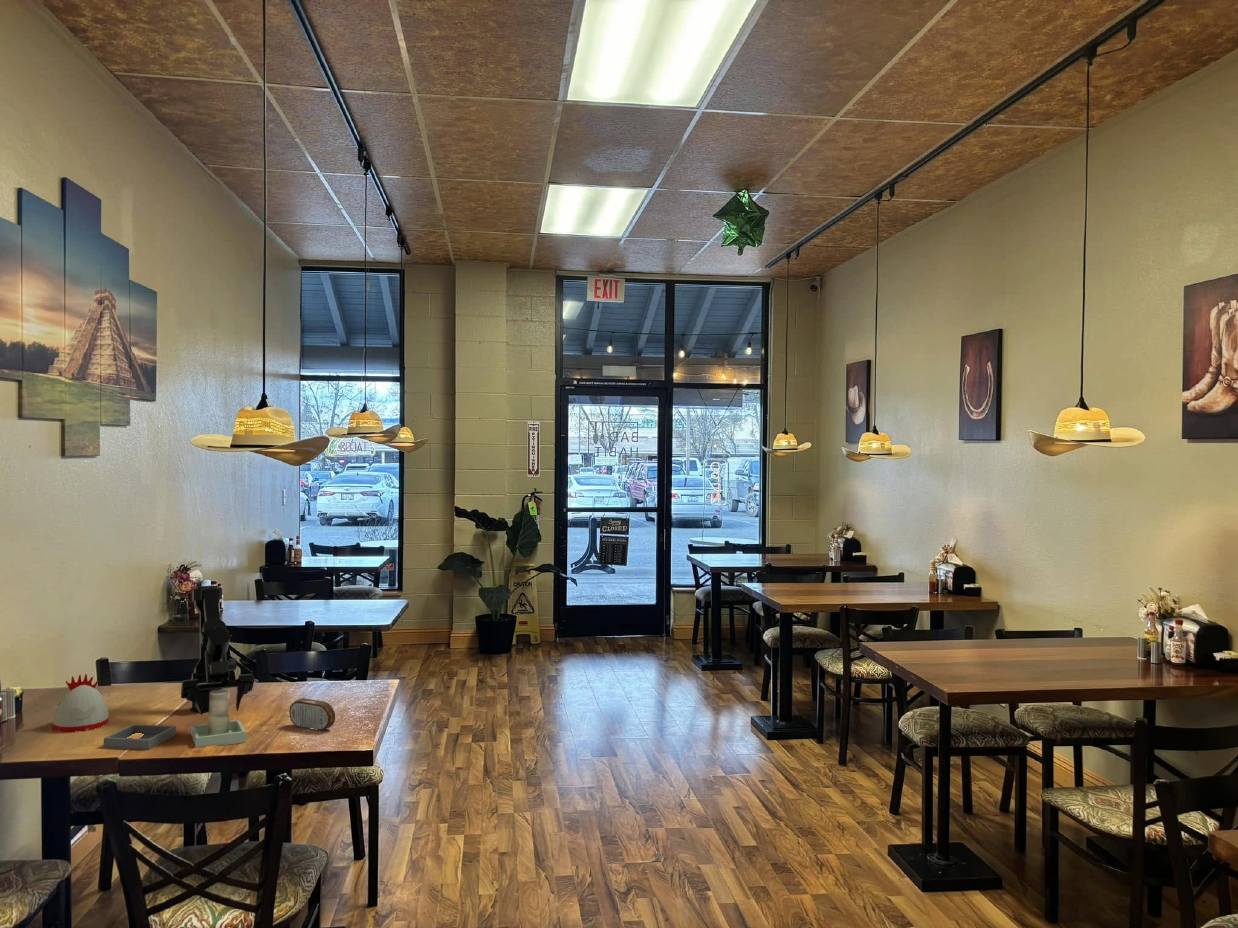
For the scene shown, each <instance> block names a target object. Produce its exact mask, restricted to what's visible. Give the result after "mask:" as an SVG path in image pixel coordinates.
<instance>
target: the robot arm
mask: <svg viewBox="0 0 1238 928" xmlns="http://www.w3.org/2000/svg"><path fill="white" fill-rule="evenodd" d="M220 600H223V588H222V587H221V588H220V587H218V585H216V584H215V585H197V586H196V587H195V589H192V591H191V601H193V607H194V608H195V610H196V611H197V613H198V614H199V660H198V662H197V664H196V665H195V667H194V668H193V672H192V673H191V678H190V679H184V680H183V681H181V687H180V698H181V699H186V701H190V702H191V707H189V710H190V711H194V712H198V713H199V715H200V716H201V715H202V716H203V713H206V712H209V693H210V691H211V690H212V689H216V688H228V689H232V688H236V693H235V694H236V695H235V696H236V697H235V709H236V711H239V708H240V705H241V700H242V699H243V697H244V695H247V694H249V692H251V691H253V687H254V684H255V676H254V675H253V674H252V673H246V674H238V677H237V679H234V680H233V679H232V680H229V679H230V677H231V672H230V671H236V670H237V663H238V662H237V657H231V658H229V659H227V653H228V650H229V644H230V642H231V640H232V641H233V635H232V634H231V633H230V631H229V630H228V629H227V625H226V623H225V621H223V620H222V619H221V613H220Z"/></svg>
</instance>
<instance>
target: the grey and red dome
mask: <svg viewBox="0 0 1238 928" xmlns="http://www.w3.org/2000/svg"><path fill="white" fill-rule="evenodd" d="M93 679H94V677H93V676H91V677H90V679H89V680H88V675H87V673H85V674H84V677H83V680H82V675H81V674H79V675H78V678H77V681H75V678H74V676H73V675H71V680H70V683H69V681H68V680H65V683H66V685H67V688H68V689H69V691H68V692H67V693H65V695H63V697H62V699H61V700H60V701H58V703H57V707H56V710H55V713H54V717H53V720H52V730H53V731H54V732H58V731H60V732H59V733H76V732H75V731H82V732H87V730H88V731H93V730H96V729H95V728H97V729H100V728H102V727H101V726H103V725H105V726H107V725H108V724H109V723H108V722H110V713H109V708H108V706H107V703H106V701H105V699H104V697H103V695H102V694H101V693H100V691H99V690H98V689H97V688H96V687H97V686H98V683H99V679H97V680H95V681H96V682H94V683H93ZM92 683H93V684H92ZM107 723H108V724H107ZM106 724H107V725H106ZM99 727H100V728H99ZM103 727H104V726H103Z"/></svg>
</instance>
